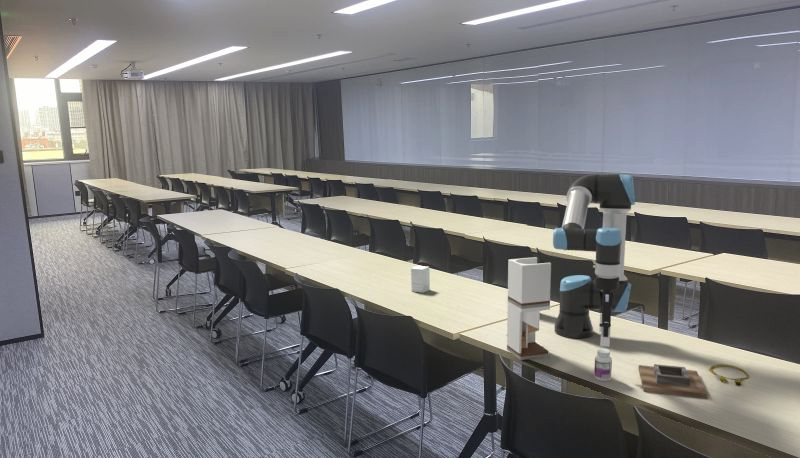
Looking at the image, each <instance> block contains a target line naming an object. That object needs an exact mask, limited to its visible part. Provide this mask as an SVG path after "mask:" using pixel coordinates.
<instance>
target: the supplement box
mask: <svg viewBox="0 0 800 458" xmlns="http://www.w3.org/2000/svg"><path fill="white" fill-rule="evenodd" d="M410 275H411V278H410V279H411V284H410V286H411V292H416V293H421V294H422V293H423V294H424V293H426V292H428V291H430V289H431V288H430V287H431V286H430V285H431V284H430V282H431V281H430V266H423V265H415V266H413V267H411V268H410Z"/></svg>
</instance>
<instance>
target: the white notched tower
mask: <svg viewBox="0 0 800 458" xmlns="http://www.w3.org/2000/svg"><path fill="white" fill-rule="evenodd" d="M507 265H508V266H507V318H506V319H507V321H506V322H507V324H506V325H507V326H506V329H507V330H506V332H507V333H506V337H507V338H506V351H508V352H509V353H510V354H512V355H513V356H514V357H515V358H517V359H518V360H520V361H524V360H531V359H538V358H547V357H549V354H550V353H549V352H550V351H549V350H548V349H546V348H545V347H544V346H542V345H540V344H539V343H537V342H536V332H539V331H540V315H541V312H540V311H547V310H548V311H549V310H550V309H551V281H552V280H551V279H552V276H551V275H552V263H551V262H544V263H543V262H542V263H538V257H537V256H536V257H522V258H511V259H508V263H507Z"/></svg>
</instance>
